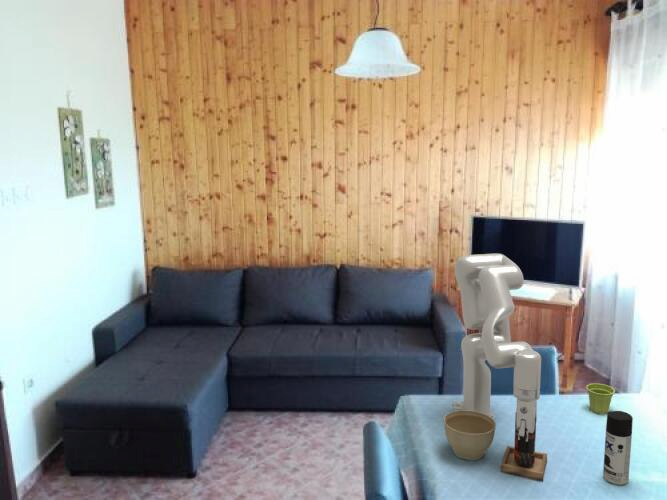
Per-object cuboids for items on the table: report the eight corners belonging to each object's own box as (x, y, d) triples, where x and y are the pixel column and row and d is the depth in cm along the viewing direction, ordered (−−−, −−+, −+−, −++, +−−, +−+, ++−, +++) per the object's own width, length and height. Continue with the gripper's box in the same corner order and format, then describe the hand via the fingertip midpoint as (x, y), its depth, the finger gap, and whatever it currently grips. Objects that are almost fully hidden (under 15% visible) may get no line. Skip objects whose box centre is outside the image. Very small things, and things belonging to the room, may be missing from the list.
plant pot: (619, 414, 197) (620, 392, 195) (597, 418, 195) (598, 395, 193) (601, 403, 206) (602, 382, 204) (579, 406, 204) (580, 385, 202)
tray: (500, 471, 163) (500, 464, 163) (507, 452, 174) (507, 445, 174) (542, 481, 158) (543, 474, 158) (546, 460, 169) (547, 453, 168)
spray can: (598, 473, 161) (601, 410, 158) (619, 471, 162) (624, 409, 159) (611, 486, 155) (615, 421, 151) (633, 484, 155) (638, 419, 152)
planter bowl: (494, 470, 165) (495, 436, 163) (441, 462, 169) (441, 430, 167) (495, 443, 180) (496, 412, 178) (446, 437, 184) (446, 407, 183)
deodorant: (536, 466, 162) (537, 419, 160) (515, 464, 163) (516, 418, 161) (532, 455, 168) (534, 410, 165) (512, 454, 169) (514, 409, 167)
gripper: (536, 405, 153) (534, 464, 156) (542, 382, 168) (540, 436, 171) (508, 400, 156) (507, 458, 159) (517, 378, 171) (516, 431, 174)
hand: (524, 446), depth 165 cm, fingers closed on deodorant, 5 cm apart
